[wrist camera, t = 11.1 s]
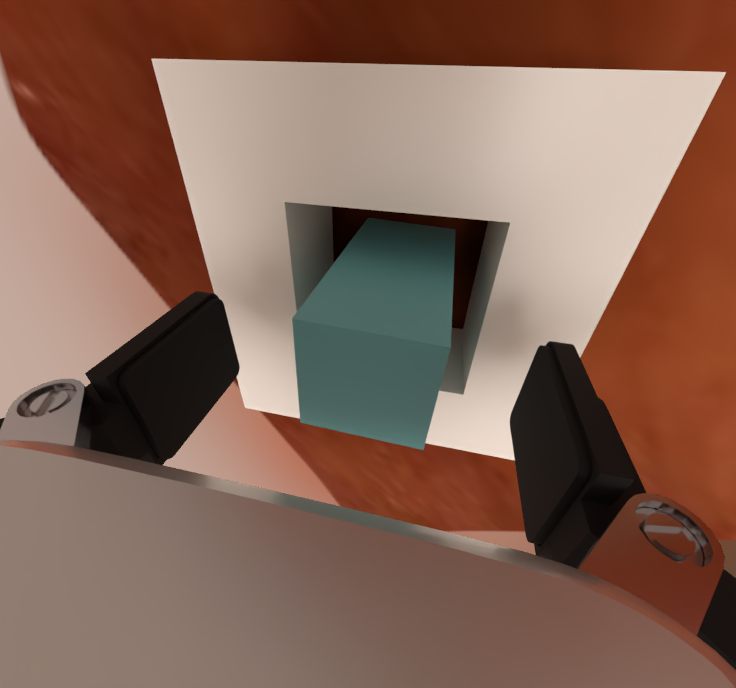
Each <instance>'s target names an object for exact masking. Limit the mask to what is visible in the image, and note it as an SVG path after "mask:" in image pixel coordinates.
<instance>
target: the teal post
mask: <svg viewBox="0 0 736 688" xmlns="http://www.w3.org/2000/svg"><path fill="white" fill-rule="evenodd" d="M455 234H456V229H449V228H441V227H434V226H427V225H419V224H412V223H405V222H397V221H390V220H383V219H375V218H367V220H366V221H365V222H364V224H363V225H362V226H361V228H360V229H359V230H358V232H357V233H356V234H355V236H354V237H353V238H352V240H351V241H350V242H349V244H348V245H347V246H346V248H345V249H344V250H343V252H342V253H341V254H340V256H339V257H338V258H337V260H336V261H335V262H334V264H333V265H332V266H331V268H330V269H329V270H328V272H327V273H326V274H325V276H324V277H323V278H322V279H321V281H320V282H319V283H318V285H317V286H316V287H315V289H314V290H313V291H312V293H311V294H310V295H309V297H308V298H307V299H306V301H305V302H304V303H303V305H302V306H301V307H300V309H299V310H298V311H297V313H296V314H295V315H294V317H293V318H292V324H293V337H294V349H295V362H296V375H297V387H298V400H299V412H300V423H305V424H309V425H314V426H318V427H323V428H327V429H332V430H336V431H341V432H345V433H350V434H354V435H358V436H363V437H367V438H372V439H376V440H381V441H385V442H390V443H394V444H399V445H403V446H408V447H412V448H416V449H421V450H423V449H424V446H425V442H426V438H427V434H428V431H429V427H430V423H431V419H432V416H433V412H434V408H435V405H436V401H437V397H438V393H439V390H440V386H441V382H442V379H443V375H444V371H445V367H446V364H447V360H448V356H449V353H450V349H451V332H452V307H453V283H454V258H455Z"/></svg>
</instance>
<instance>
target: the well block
mask: <svg viewBox="0 0 736 688" xmlns="http://www.w3.org/2000/svg"><path fill="white" fill-rule="evenodd" d="M151 60H152V63H153V67H154V71H155V74H156V78H157V82H158V86H159V89H160V93H161V97H162V101H163V104H164V108H165V112H166V115H167V119H168V123H169V127H170V130H171V134H172V138H173V142H174V145H175V149H176V153H177V156H178V160H179V164H180V168H181V171H182V175H183V179H184V183H185V186H186V190H187V194H188V197H189V201H190V205H191V209H192V212H193V216H194V220H195V224H196V227H197V231H198V235H199V239H200V242H201V246H202V250H203V253H204V257H205V261H206V265H207V268H208V272H209V276H210V280H211V283H212V287H213V291H214V294H216V295H217V296H218V297H219V299H220V300H222V301H223V303H224V307H225V311H226V314H227V318H228V322H229V326H230V330H231V334H232V338H233V342H234V346H235V350H236V354H237V358H238V361H239V366H240V369H239V373H238V375H237V380H238V384H239V388H240V391H241V395H242V399H243V403H244V406H245V408H249V409H254V410H259V411H264V412H269V413H274V414H279V415H285V416H290V417H295V418H300V412H299V400H298V387H297V375H296V362H295V349H294V337H293V324H292V318H293V317H294V315H295V314H296V313H297V311H298V310H299V309H300V307H301V306H302V305H303V303H304V302H305V301H306V299H307V298H308V297H309V295H310V294H311V293H312V291H313V290H314V289H315V287H316V286H317V285H318V283H319V282H320V281H321V279H322V278H323V277H324V276H325V274H326V273H327V272H328V270H329V269H330V268H331V266H332V265H333V264H334V254H333V223H332V206H334V207H345V208H356V209H367V210H377V211H388V212H399V213H410V214H421V215H432V216H443V217H454V218H465V219H476V220H487V221H488V224H487V228H486V232H485V237H484V241H483V245H482V249H481V254H480V258H479V262H478V266H477V271H476V275H475V279H474V283H473V288H472V292H471V296H470V301H469V305H468V309H467V313H466V318H465V322H464V326H463V329H459V328H452V332H451V349H450V353H449V356H448V360H447V364H446V367H445V371H444V375H443V379H442V382H441V386H440V390H439V393H438V397H437V401H436V405H435V408H434V412H433V416H432V419H431V423H430V427H429V431H428V434H427V438H426V442H425V443H428V444H433V445H438V446H443V447H449V448H454V449H459V450H464V451H469V452H474V453H479V454H484V455H490V456H495V457H500V458H505V459H510V460H515V458H514V451H513V444H512V437H511V430H510V416H511V412H512V410H513V407H514V405H515V402H516V400H517V398H518V395H519V393H520V390H521V388H522V385H523V383H524V380H525V378H526V376H527V373H528V371H529V368H530V366H531V363H532V361H533V358H534V356H535V353H536V351H537V349H538V347H539V346H540V345H543V346H546V344H547V343H548V342H549V341H553V342H560V343H567V344H572V345H574V346H575V348H576V350H577V353H578V355H579V357H581V355H582V353H583V351H584V349H585V347H586V345H587V343H588V341H589V339H590V337H591V335H592V334H593V332H594V330H595V328H596V326H597V324H598V322H599V320H600V318H601V316H602V314H603V312H604V310H605V308H606V306H607V304H608V302H609V300H610V298H611V296H612V294H613V293H614V291H615V289H616V287H617V285H618V283H619V281H620V279H621V277H622V275H623V273H624V271H625V269H626V267H627V265H628V263H629V261H630V259H631V257H632V255H633V253H634V251H635V250H636V248H637V246H638V244H639V242H640V240H641V238H642V236H643V234H644V232H645V230H646V228H647V226H648V224H649V222H650V220H651V218H652V216H653V214H654V212H655V210H656V209H657V207H658V205H659V203H660V201H661V199H662V197H663V195H664V193H665V191H666V189H667V187H668V185H669V183H670V181H671V179H672V177H673V175H674V173H675V171H676V169H677V168H678V166H679V164H680V162H681V160H682V158H683V156H684V154H685V152H686V150H687V148H688V146H689V144H690V142H691V140H692V138H693V136H694V134H695V132H696V130H697V128H698V126H699V125H700V123H701V121H702V119H703V117H704V115H705V113H706V111H707V109H708V107H709V105H710V103H711V101H712V99H713V97H714V95H715V93H716V91H717V89H718V87H719V85H720V84H721V82H722V80H723V78H724V76H725V74H726V72H700V71H657V70H615V69H573V68H530V67H488V66H445V65H403V64H361V63H318V62H276V61H233V60H191V59H151Z"/></svg>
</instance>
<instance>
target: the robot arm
mask: <svg viewBox="0 0 736 688" xmlns="http://www.w3.org/2000/svg"><path fill="white" fill-rule="evenodd" d="M239 369H240V366H239V361H238V358H237V354H236V350H235V346H234V342H233V338H232V334H231V330H230V326H229V322H228V318H227V314H226V311H225V307H224V303H223V301H222V300H220V299H219V297H218V296H217V295H216V294H212V293H205V292H194V293H193V294H191V295H190V296H189V297H187V298H186V299H185V300H183V301H182V302H181V303H179V304H178V305H177V306H175V307H174V308H172V309H171V310H170V311H168V312H167V313H166V314H165V315H163V316H162V317H160V318H159V319H158V320H156V321H155V322H154V323H153V324H151V325H150V326H148V327H147V328H146V329H144V330H143V331H142V332H140V333H139V334H138V335H136V336H135V337H134V338H132V339H131V340H130V341H128V342H127V343H125V344H124V345H123V346H121V347H120V348H119V349H118V350H116V351H115V352H114V353H112V354H111V355H109V356H108V357H107V358H105V359H104V360H103V361H101V362H100V363H99V364H97V365H96V366H95V367H93V368H92V369H91V370H89V371H88V372H87V373H85V374H86V376H87V377H88V379H89V380H90V382H91V383H90V384H89V385H88V386H87V387H85V386H84V385H83V384H82V383H81V382H80V381H78V380H75V379H60V380H54V381H51V382H47V383H44V384H41V385H39V386H37V387H34V388H32V389H30V390H29V391H27V392H25V393H24V394H22V395H21V396H20V397H18V398H17V399H16V400H15V401H14V402H13V403H12V405H11V406H10V408H9V409H8V412H7V414H6V417H5V418H2V419H0V688H736V578H734V577H733V576H732V575H731V574H730V573H728V572H727V571H726V570H724V558H725V556H724V553H723V551H722V548H721V545H720V543H719V541H718V540H717V538H716V537H715V535H714V534H713V532H712V531H711V530H710V529H709V528H708V527H707V526H706V525H705V523H704V522H703V521H702V520H701V519H700V518H699V517H697V516H696V515H695V514H693V513H692V512H691V511H689V510H688V509H687V508H685V507H684V506H682V505H680V504H678V503H677V502H675V501H673V500H671V499H668V498H666V497H663V496H660V495H657V494H649V493H646V491H645V489H644V487H643V485H642V482H641V480H640V478H639V476H638V474H637V472H636V469H635V467H634V465H633V463H632V461H631V459H630V457H629V454H628V452H627V450H626V448H625V446H624V444H623V441H622V439H621V437H620V435H619V433H618V431H617V429H616V426H615V424H614V422H613V420H612V418H611V416H610V413H609V411H608V409H607V407H606V405H605V403H604V402H603V400H601V399H600V398H598V397H597V395H596V393H595V390H594V388H593V386H592V384H591V381H590V379H589V377H588V375H587V373H586V370H585V368H584V366H583V364H582V361H581V359H580V357H579V355H578V353H577V350H576V348H575V346H574V345H572V344H567V343H560V342H553V341H549V342H548V343H547V344H546V346H543V345H540V346H539V347H538V349H537V351H536V353H535V356H534V358H533V361H532V363H531V366H530V368H529V371H528V373H527V376H526V378H525V380H524V383H523V385H522V388H521V390H520V393H519V395H518V398H517V400H516V402H515V405H514V407H513V410H512V412H511V416H510V430H511V437H512V444H513V451H514V458H515V464H516V471H517V478H518V485H519V492H520V498H521V505H522V512H523V519H524V526H525V532H526V537H527V540H528V542H530V543H534V546H535V552H536V555H533V554H529V553H526V552H523V551H519V550H515V549H511V548H507V547H504V546H500V545H495V544H491V543H488V542H484V541H480V540H476V539H472V538H468V537H464V536H460V535H457V534H453V533H449V532H445V531H441V530H436V529H432V528H428V527H424V526H420V525H416V524H411V523H407V522H403V521H399V520H395V519H390V518H386V517H382V516H378V515H374V514H369V513H365V512H361V511H357V510H353V509H348V508H344V507H340V506H336V505H331V504H327V503H323V502H319V501H314V500H310V499H306V498H302V497H297V496H293V495H289V494H285V493H280V492H276V491H272V490H267V489H263V488H259V487H255V486H250V485H246V484H242V483H237V482H233V481H229V480H224V479H220V478H216V477H211V476H206V475H202V474H198V473H194V472H189V471H184V470H181V469H176V468H172V467H167V466H163V464H164V462H165V461H166V460H167V459H170V458H172V457H173V456H174V455H175V454H176V452H177V451H178V450H179V449H180V448H181V446H182V445H183V444H184V442H185V441H186V440H187V439H188V437H189V436H190V435H191V434H192V432H193V431H194V430H195V429H196V427H197V426H198V425H199V423H200V422H201V421H202V420H203V419H204V417H205V416H206V415H207V413H208V412H209V411H210V410H211V408H212V407H213V406H214V404H215V403H216V402H217V401H218V399H219V398H220V397H221V396H222V395H223V393H224V392H225V391H226V389H227V388H228V387H229V386H230V384H231V383H232V382H233V381H234V379H235V378H236V377H237V375H238V373H239Z"/></svg>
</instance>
